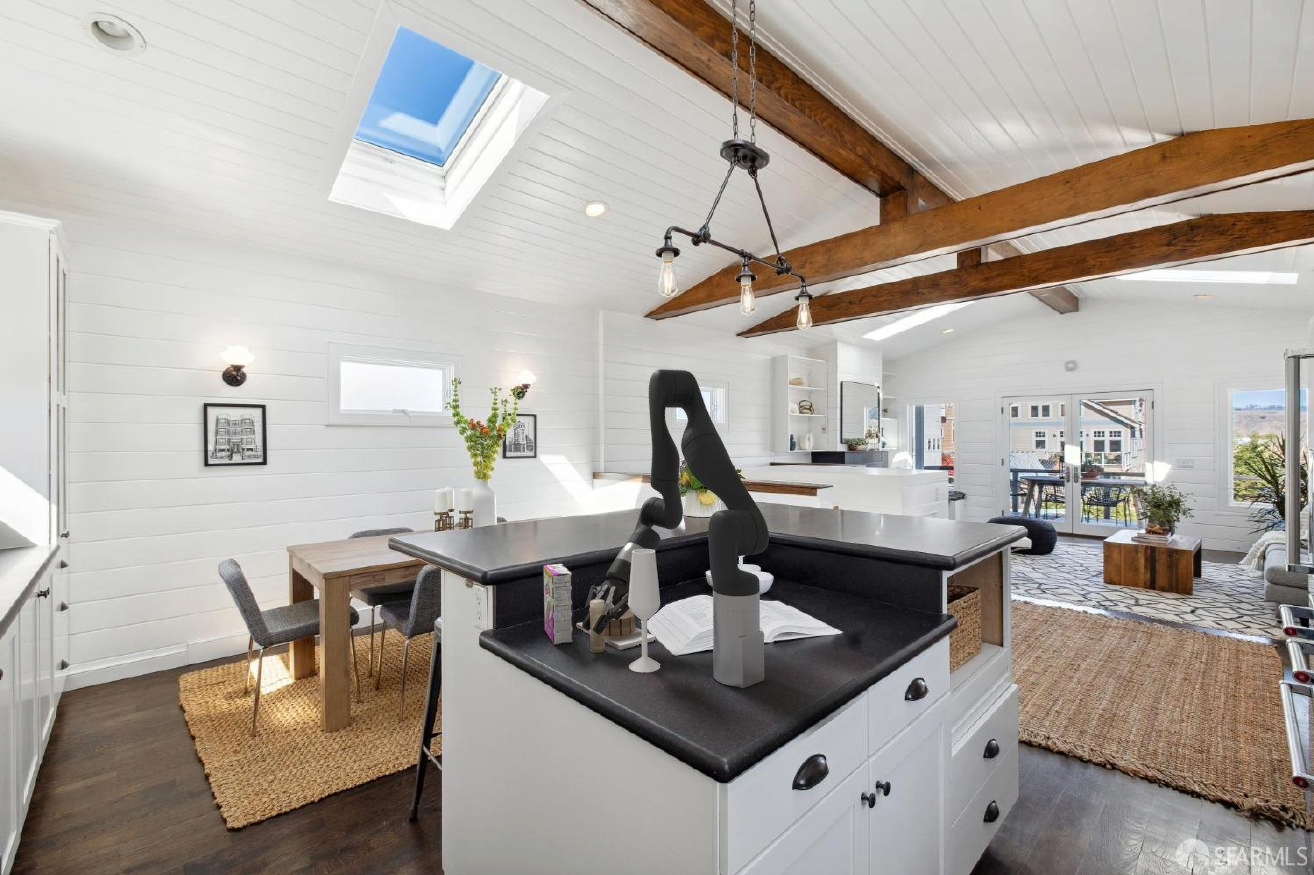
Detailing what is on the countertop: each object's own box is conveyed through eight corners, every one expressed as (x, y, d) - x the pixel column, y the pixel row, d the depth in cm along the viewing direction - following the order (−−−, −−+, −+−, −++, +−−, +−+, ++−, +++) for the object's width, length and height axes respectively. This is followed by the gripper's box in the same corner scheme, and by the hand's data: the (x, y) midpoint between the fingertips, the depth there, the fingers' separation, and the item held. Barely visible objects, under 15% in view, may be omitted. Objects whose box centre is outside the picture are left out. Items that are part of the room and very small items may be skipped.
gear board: (655, 640, 137) (655, 619, 137) (619, 649, 131) (619, 627, 131) (609, 619, 153) (609, 600, 153) (576, 627, 147) (576, 607, 147)
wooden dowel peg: (607, 650, 131) (607, 601, 131) (595, 653, 129) (594, 604, 129) (600, 646, 133) (599, 598, 133) (587, 649, 131) (587, 601, 131)
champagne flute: (666, 663, 123) (665, 549, 123) (649, 675, 117) (648, 555, 117) (640, 657, 126) (639, 547, 126) (622, 668, 121) (621, 552, 121)
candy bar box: (543, 631, 145) (542, 564, 145) (563, 628, 147) (562, 563, 147) (552, 645, 134) (551, 574, 134) (573, 642, 136) (573, 572, 136)
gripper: (601, 553, 141) (561, 615, 132) (642, 561, 132) (602, 628, 123) (617, 571, 145) (579, 632, 136) (658, 580, 136) (621, 646, 127)
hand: (590, 630), depth 130 cm, fingers closed on wooden dowel peg, 3 cm apart
